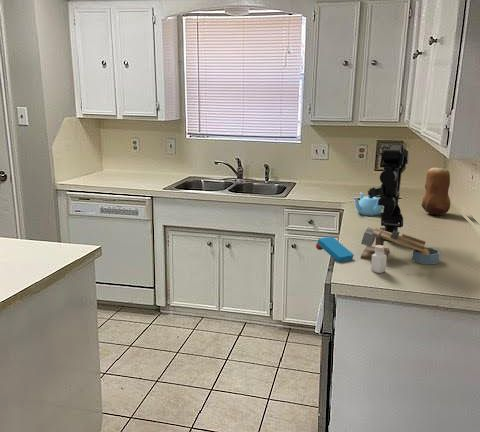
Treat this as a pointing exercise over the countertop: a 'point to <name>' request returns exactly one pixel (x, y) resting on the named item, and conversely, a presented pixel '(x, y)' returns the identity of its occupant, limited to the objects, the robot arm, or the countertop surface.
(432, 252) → the blue bowl
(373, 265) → the pepper shaker
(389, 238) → the tipping lever
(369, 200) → the teapot
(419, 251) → the ball
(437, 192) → the butternut squash
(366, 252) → the lever stand
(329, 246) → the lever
